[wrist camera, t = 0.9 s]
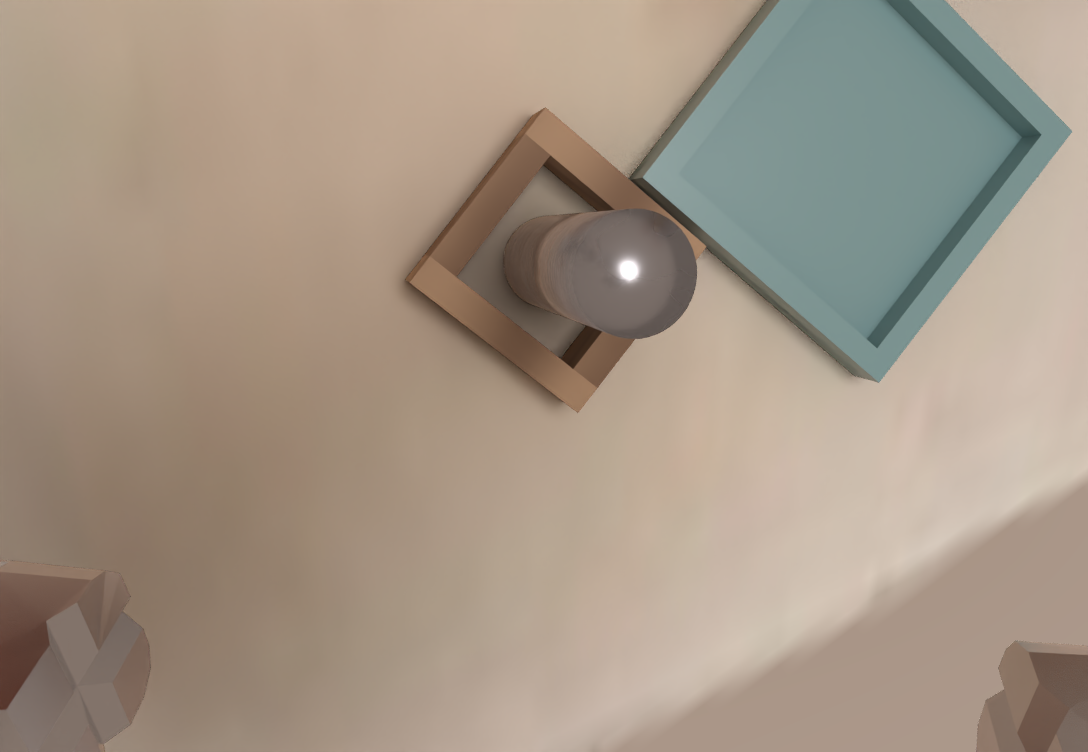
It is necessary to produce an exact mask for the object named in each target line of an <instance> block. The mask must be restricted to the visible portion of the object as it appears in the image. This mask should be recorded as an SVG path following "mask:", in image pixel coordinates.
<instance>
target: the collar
mask: <svg viewBox="0 0 1088 752" xmlns="http://www.w3.org/2000/svg"><path fill="white" fill-rule="evenodd" d="M543 165H544V166H545V167H546V168H548V169H549V170H550V171H551V172H552V173H553V174H555V175H556V176H557V177H558V178H559V179H561V180H562V181H563V182H564V183H565V184H567V185H568V186H569V187H570V188H571V189H572V190H574V191H575V192H576V193H577V194H578V195H580V196H581V197H582V198H583V199H584V200H585V201H587V202H588V203H589V204H590V205H591V206H593V207H594V208H595V209H596V210H597V211H598V212H599V211H610V210H622V209H646V210H650V211H654V212H657V213H659V214H662V215H663V216H665V217H667V218H669V219H670V220H671V221H673V222H674V223H675V224H676V225H677V226H678V227H679V228H680V229H681V230H682V231H683V232H684V234H685V235H686V237H687V238H688V240H689V242H690V244H691V246H692V249H693V251H694V255H695V258H696V260H697V258H698V257H699V256H700V254H701V253H702V252H703V251H704V249H705V248H706V247H707V246H706V245H704V244H703V243H702V242H701V241H700V240H699V239H698V238H696V237H695V236H694V235H693V234H692V233H691V232H689V231H688V230H687V229H686V228H685V227H684V226H682V225H681V224H680V223H679V222H678V221H677V220H676V219H674V218H673V217H672V216H671V215H670V214H669V213H667V212H666V211H665V210H664V209H663V208H662V207H660V206H659V205H658V204H657V203H656V202H655V201H653V200H652V199H651V198H650V197H649V196H648V195H647V194H645V193H644V192H643V191H642V190H641V189H640V188H638V187H637V186H636V185H635V184H634V183H633V182H631V181H630V180H629V179H628V178H627V177H626V176H625V175H623V174H622V173H621V172H620V171H619V170H618V169H616V168H615V167H614V166H613V165H612V164H611V163H609V162H608V161H607V160H606V159H605V158H604V157H603V156H601V155H600V154H599V153H598V152H597V151H596V150H594V149H593V148H592V147H591V146H590V145H589V144H587V143H586V142H585V141H584V140H583V139H582V138H580V137H579V136H578V135H577V134H576V133H575V132H574V131H572V130H571V129H570V128H569V127H568V126H567V125H565V124H564V123H563V122H562V121H561V120H560V119H558V118H557V117H556V116H555V115H554V114H553V113H552V112H550V111H549V110H548V109H547V108H546V107H545V108H544V109H542V110H540V111H539V112H537V113H536V114H534V115H533V116H532V117H531V118H530V119H529V121H528V122H527V123H526V125H525V126H524V127H523V128H522V130H521V131H520V132H519V134H518V135H517V136H516V137H515V139H514V140H513V141H512V143H511V144H510V145H509V146H508V148H507V149H506V150H505V152H504V153H503V154H502V155H501V157H500V158H499V159H498V161H497V162H496V163H495V164H494V166H493V167H492V168H491V170H490V171H489V172H488V173H487V175H486V176H485V177H484V179H483V180H482V181H481V183H480V184H479V185H478V186H477V188H476V189H475V190H474V192H473V193H472V194H471V195H470V197H469V198H468V199H467V201H466V202H465V203H464V204H463V206H462V207H461V208H460V210H459V211H458V212H457V213H456V215H455V216H454V217H453V219H452V220H451V221H450V222H449V224H448V225H447V226H446V228H445V229H444V230H443V231H442V233H441V234H440V235H439V237H438V238H437V239H436V240H435V242H434V243H433V244H432V246H431V247H430V248H429V249H428V251H427V252H426V253H425V255H424V256H423V257H422V259H421V260H420V261H419V262H418V264H417V265H416V266H415V268H414V269H413V270H412V271H411V273H410V274H409V275H408V277H407V278H406V279H405V280H407V281H408V282H409V283H411V284H412V285H413V286H415V287H416V288H417V289H418V290H420V291H421V292H422V293H424V294H425V295H426V296H427V297H429V298H430V299H431V300H433V301H434V302H435V303H436V304H438V305H439V306H440V307H442V308H443V309H444V310H446V311H447V312H448V313H449V314H451V315H452V316H453V317H455V318H456V319H457V320H458V321H460V322H461V323H462V324H464V325H465V326H466V327H467V328H469V329H470V330H471V331H473V332H474V333H475V334H477V335H478V336H479V337H480V338H482V339H483V340H484V341H486V342H487V343H488V344H489V345H491V346H492V347H493V348H495V349H496V350H497V351H498V352H500V353H501V354H502V355H504V356H505V357H506V358H508V359H509V360H510V361H511V362H513V363H514V364H515V365H517V366H518V367H519V368H520V369H522V370H523V371H524V372H526V373H527V374H528V375H529V376H531V377H532V378H533V379H535V380H536V381H537V382H539V383H540V384H541V385H542V386H544V387H545V388H546V389H548V390H549V391H550V392H551V393H553V394H554V395H555V396H557V397H558V398H559V399H560V400H562V401H563V402H564V403H566V404H567V405H568V406H570V407H571V408H572V409H573V410H575V411H576V412H577V413H578V412H579V411H580V410H581V408H582V407H583V406H584V405H585V403H586V402H587V401H588V399H589V398H590V397H591V395H592V394H593V393H594V392H595V390H596V389H597V388H598V386H599V385H600V384H601V383H602V381H603V380H604V379H605V377H606V376H607V375H608V374H609V372H610V371H611V370H612V368H613V367H614V366H615V364H616V363H617V362H618V361H619V359H620V358H621V357H622V355H623V354H624V353H625V352H626V350H627V349H628V348H629V346H630V345H631V344H632V342H633V341H634V340H635V339H626V338H620V337H616V336H613V335H611V334H608V333H605V332H603V331H600V330H597V329H595V328H592V327H589V326H586V327H585V328H584V329H583V331H582V332H581V333H580V335H579V336H578V337H577V339H576V340H575V341H574V342H573V344H572V345H571V346H570V348H569V349H568V350H567V351H566V353H565V354H564V355H563V357H562V358H561V359H560V358H559V357H557V356H556V355H555V354H554V353H552V352H551V351H550V350H548V349H547V348H546V347H545V346H543V345H542V344H541V343H540V342H538V341H537V340H536V339H535V338H533V337H532V336H531V335H529V334H528V333H527V332H526V331H524V330H523V329H522V328H521V327H519V326H518V325H517V324H515V323H514V322H513V321H512V320H510V319H509V318H508V317H507V316H505V315H504V314H503V313H501V312H500V311H499V310H498V309H496V308H495V307H494V306H493V305H491V304H490V303H489V302H487V301H486V300H485V299H484V298H482V297H481V296H480V295H479V294H477V293H476V292H475V291H474V290H472V289H471V288H470V287H468V286H467V285H466V284H465V283H463V282H462V281H461V280H460V279H458V278H457V277H456V276H457V275H458V274H459V273H460V271H461V270H462V269H463V267H464V266H465V265H466V264H467V262H468V261H469V260H470V258H471V257H472V256H473V255H474V253H475V252H476V251H477V249H478V248H479V247H480V246H481V244H482V243H483V242H484V240H485V239H486V238H487V237H488V235H489V234H490V233H491V231H492V230H493V229H494V227H495V226H496V225H497V224H498V222H499V221H500V220H501V218H502V217H503V216H504V215H505V213H506V212H507V211H508V209H509V208H510V207H511V206H512V204H513V203H514V202H515V200H516V199H517V198H518V197H519V195H520V194H521V193H522V191H523V190H524V189H525V188H526V186H527V185H528V184H529V182H530V181H531V180H532V179H533V177H534V176H535V175H536V173H537V172H538V171H539V169H540V168H541V167H542V166H543Z"/></svg>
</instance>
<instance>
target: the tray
mask: <svg viewBox="0 0 1088 752" xmlns="http://www.w3.org/2000/svg"><path fill="white" fill-rule="evenodd" d="M1071 133H1072V131H1071V129H1070V128H1069V127H1068V126H1067V125H1066V124H1065V123H1064V122H1063V121H1062V120H1061V119H1060V118H1059V117H1058V116H1057V115H1056V114H1055V113H1054V112H1053V111H1052V110H1051V109H1050V108H1049V107H1048V106H1047V105H1046V104H1045V103H1044V102H1043V101H1042V100H1041V99H1040V98H1039V97H1038V96H1037V95H1036V94H1035V93H1034V92H1033V90H1032V89H1031V88H1030V87H1029V86H1028V85H1027V84H1026V83H1025V82H1024V81H1023V80H1022V79H1021V78H1020V77H1019V76H1018V75H1017V74H1016V73H1015V72H1014V71H1013V70H1012V69H1011V68H1010V67H1009V66H1008V65H1007V64H1006V63H1005V62H1004V61H1003V60H1002V59H1001V58H1000V57H999V56H998V55H997V54H996V52H995V51H994V50H993V49H992V48H991V47H990V46H989V45H988V44H987V43H986V42H985V41H984V40H983V39H982V38H981V37H980V36H979V35H978V34H977V33H976V32H975V31H974V30H973V29H972V28H971V27H970V26H969V25H968V24H967V23H966V22H965V21H964V20H963V19H962V18H961V17H960V16H959V15H958V13H957V12H956V11H955V10H954V9H953V8H952V7H951V6H950V5H949V4H948V3H947V2H946V1H945V0H767V1H766V2H765V4H764V5H763V6H762V8H761V9H760V10H759V11H758V13H757V14H756V15H755V17H754V18H753V19H752V20H751V22H750V23H749V24H748V26H747V27H746V28H745V30H744V31H743V32H742V33H741V35H740V36H739V37H738V39H737V40H736V41H735V42H734V44H733V45H732V46H731V48H730V49H729V50H728V51H727V53H726V54H725V55H724V57H723V58H722V59H721V61H720V62H719V63H718V64H717V66H716V67H715V68H714V70H713V71H712V72H711V73H710V75H709V76H708V77H707V79H706V80H705V81H704V82H703V84H702V85H701V86H700V88H699V89H698V90H697V91H696V93H695V94H694V95H693V97H692V98H691V99H690V101H689V102H688V103H687V104H686V106H685V107H684V108H683V110H682V111H681V112H680V113H679V115H678V116H677V117H676V119H675V120H674V121H673V122H672V124H671V125H670V126H669V128H668V129H667V130H666V132H665V133H664V134H663V135H662V137H661V138H660V139H659V141H658V142H657V143H656V144H655V146H654V147H653V148H652V150H651V151H650V152H649V153H648V155H647V156H646V157H645V159H644V160H643V161H642V163H641V164H640V165H639V166H638V168H637V169H636V170H635V172H634V173H633V174H632V175H631V177H630V178H629V180H630V181H631V182H633V183H634V184H635V185H636V186H637V187H638V188H640V189H641V190H642V191H643V192H644V193H645V194H647V195H648V196H649V197H650V198H651V199H652V200H653V201H655V202H656V203H657V204H658V205H659V206H660V207H662V208H663V209H664V210H665V211H666V212H667V213H669V214H670V215H671V216H672V217H673V218H674V219H676V220H677V221H678V222H679V223H680V224H681V225H682V226H684V227H685V228H686V229H687V230H688V231H689V232H691V233H692V234H693V235H694V236H695V237H696V238H698V239H699V240H700V241H701V242H702V243H703V244H704V245H706V246H707V247H706V248H707V249H708V250H709V251H710V252H712V253H713V254H714V255H715V256H716V257H717V258H719V259H720V260H721V261H722V262H723V263H724V264H726V265H727V266H728V267H729V268H730V269H731V270H732V271H734V272H735V273H736V274H737V275H738V276H739V277H741V278H742V279H743V280H744V281H745V282H746V283H748V284H749V285H750V286H751V287H752V288H753V289H755V290H756V291H757V292H758V293H759V294H760V295H761V296H763V297H764V298H765V299H766V300H767V301H768V302H770V303H771V304H772V305H773V306H774V307H775V308H777V309H778V310H779V311H780V312H781V313H782V314H784V315H785V316H786V317H787V318H788V319H789V320H790V321H792V322H793V323H794V324H795V325H796V326H797V327H799V328H800V329H801V330H802V331H803V332H804V333H806V334H807V335H808V336H809V337H810V338H811V339H812V340H814V341H815V342H816V343H817V344H818V345H819V346H821V347H822V348H823V349H824V350H825V351H826V352H828V353H829V354H830V355H831V356H832V357H833V358H835V359H836V360H837V361H838V362H839V363H840V364H841V365H843V366H844V367H845V368H846V369H847V370H848V371H850V372H851V373H852V374H853V375H854V376H857V377H861V378H864V379H868V380H871V381H875V382H880V381H881V379H882V378H883V377H884V376H885V374H886V373H887V372H888V370H889V369H890V368H891V366H892V365H893V364H894V363H895V361H896V360H897V359H898V357H899V356H900V355H901V353H902V352H903V351H904V350H905V348H906V347H907V346H908V344H909V343H910V342H911V340H912V339H913V338H914V337H915V335H916V334H917V333H918V331H919V330H920V329H921V327H922V326H923V325H924V324H925V322H926V321H927V320H928V318H929V317H930V316H931V314H932V313H933V312H934V311H935V309H936V308H937V307H938V305H939V304H940V303H941V301H942V300H943V299H944V298H945V296H946V295H947V294H948V292H949V291H950V290H951V288H952V287H953V286H954V285H955V283H956V282H957V281H958V279H959V278H960V277H961V275H962V274H963V273H964V272H965V270H966V269H967V268H968V266H969V265H970V264H971V262H972V261H973V260H974V259H975V257H976V256H977V255H978V253H979V252H980V251H981V249H982V248H983V247H984V246H985V244H986V243H987V242H988V240H989V239H990V238H991V237H992V235H993V234H994V233H995V231H996V230H997V229H998V227H999V226H1000V225H1001V224H1002V222H1003V221H1004V220H1005V218H1006V217H1007V216H1008V214H1009V213H1010V212H1011V211H1012V209H1013V208H1014V207H1015V205H1016V204H1017V203H1018V201H1019V200H1020V199H1021V198H1022V196H1023V195H1024V194H1025V192H1026V191H1027V190H1028V188H1029V187H1030V186H1031V185H1032V183H1033V182H1034V181H1035V179H1036V178H1037V177H1038V175H1039V174H1040V173H1041V172H1042V170H1043V169H1044V168H1045V166H1046V165H1047V164H1048V162H1049V161H1050V160H1051V159H1052V157H1053V156H1054V155H1055V153H1056V152H1057V151H1058V149H1059V148H1060V147H1061V146H1062V144H1063V143H1064V142H1065V140H1066V139H1067V138H1068V136H1069V135H1070V134H1071Z"/></svg>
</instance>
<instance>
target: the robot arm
mask: <svg viewBox="0 0 1088 752" xmlns="http://www.w3.org/2000/svg"><path fill="white" fill-rule="evenodd" d="M130 597H131V596H130V594H129V592H128V590H127V588H126V585H125V583H124V581H123V579H122V577H121V574H120V573H116V572H111V571H104V570H95V569H86V568H76V567H67V566H58V565H48V564H39V563H29V562H20V561H7V560H0V752H105V748H104V743H106V742H107V741H109V740H110V739H111V738H113V737H114V736H115V735H117V734H118V733H120V732H121V731H122V730H124V729H125V728H126V727H128V726H129V725H130V724H131V722H132V720H133V718H134V716H135V714H136V712H137V710H138V708H139V706H140V704H141V702H142V700H143V698H144V694H145V690H146V686H147V681H148V677H149V672H150V668H151V666H150V651H149V644H148V641H147V638H146V636H145V633H144V630H143V628H142V627H141V626H140V625H138V624H137V623H136V622H135V621H133V620H132V619H131V618H130V617H128V616H127V615H126V614H125V613H124V612H122V611H123V609H124V607H125V606H126V604H127V602H128V601H129V599H130ZM998 669H999V672H1000V676H1001V680H1002V683H1003V686H1004V690H1002V691H1000V692H999V693H997V694H995V695H994V696H992V697H991V698H989V699H987V700H986V701H985V704H984V707H983V710H982V713H981V716H980V720H979V723H978V729H977V730H978V731H977V747H976V752H1088V646H1086V645H1072V644H1056V643H1042V642H1026V641H1014V642H1013V643H1012V644H1011V645H1010V646H1009V647H1008V648H1007V649H1006V650H1005V652H1004V655H1003V657H1002V660H1001V662H1000V665H999V667H998Z"/></svg>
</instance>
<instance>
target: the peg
mask: <svg viewBox="0 0 1088 752" xmlns="http://www.w3.org/2000/svg"><path fill="white" fill-rule="evenodd" d="M503 263H504V272H505V276H506V279H507V281H508V283H509V285H510V287H511V288H512V290H513V291H514V292H515V293H516V294H517V295H518V296H519V297H520V298H521V299H523V300H524V301H526V302H528V303H529V304H532V305H534V306H537V307H540V308H542V309H545V310H547V311H550V312H553V313H555V314H558V315H561V316H563V317H566V318H568V319H571V320H574V321H576V322H579V323H582V324H584V325H587V326H589V327H592V328H595V329H597V330H600V331H603V332H605V333H608V334H611V335H613V336H616V337H620V338H626V339H640V338H646V337H650V336H653V335H656V334H658V333H660V332H662V331H664V330H666V329H667V328H669V327H670V326H671V325H673V324H674V323H675V322H676V321H677V320H678V319H679V318H680V317H681V315H682V314H683V313H684V311H685V310H686V309H687V307H688V305H689V303H690V301H691V299H692V296H693V294H694V290H695V286H696V279H697V265H696V258H695V255H694V251H693V249H692V246H691V244H690V242H689V240H688V238H687V237H686V235H685V234H684V232H683V231H682V230H681V229H680V228H679V227H678V226H677V225H676V224H675V223H674V222H673V221H671V220H670V219H669V218H667V217H665V216H663V215H662V214H659V213H657V212H654V211H650V210H646V209H622V210H610V211H599V212H587V213H575V214H563V215H551V216H541V217H537V218H534V219H531V220H529V221H527V222H525V223H524V224H522V225H521V226H520V227H519V228H518V229H517V230H516V231H515V232H514V233H513V234H512V236H511V237H510V239H509V241H508V243H507V246H506V248H505V253H504V261H503Z"/></svg>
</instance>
